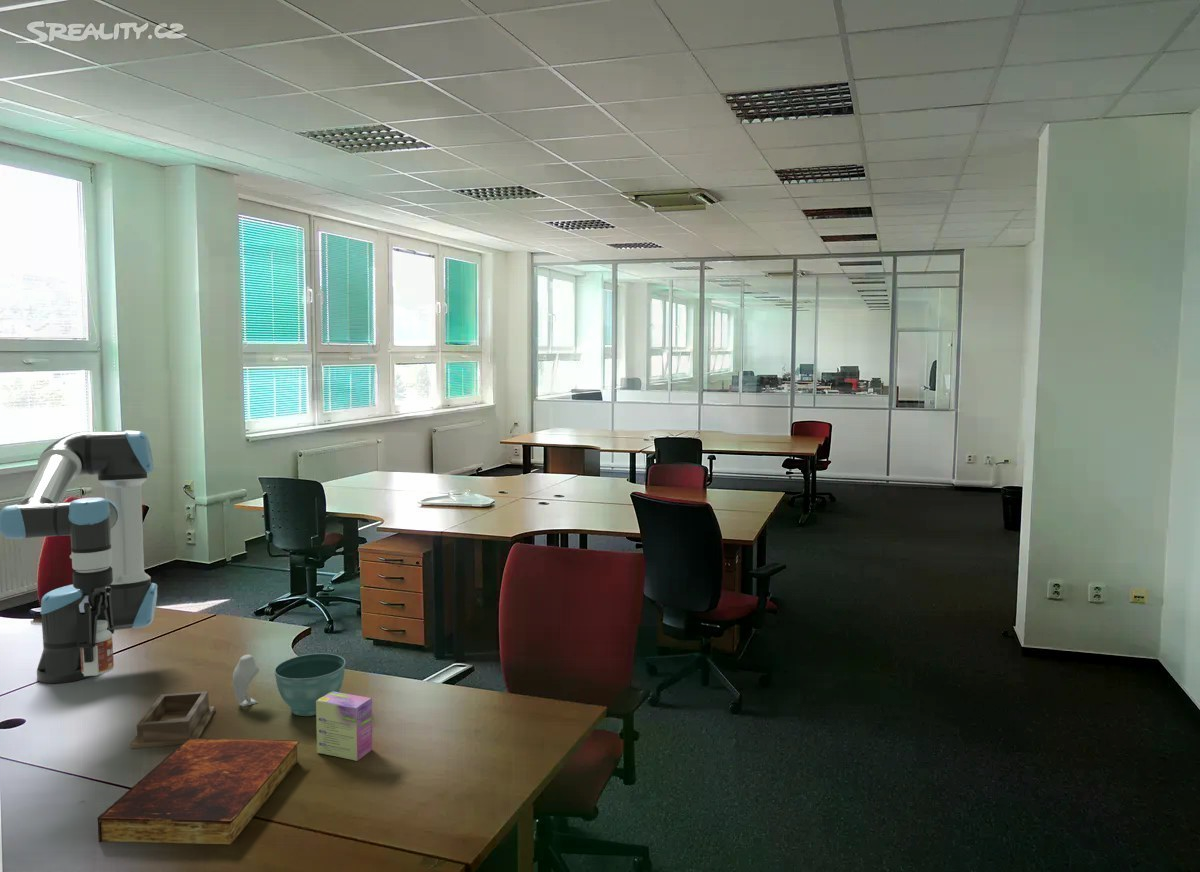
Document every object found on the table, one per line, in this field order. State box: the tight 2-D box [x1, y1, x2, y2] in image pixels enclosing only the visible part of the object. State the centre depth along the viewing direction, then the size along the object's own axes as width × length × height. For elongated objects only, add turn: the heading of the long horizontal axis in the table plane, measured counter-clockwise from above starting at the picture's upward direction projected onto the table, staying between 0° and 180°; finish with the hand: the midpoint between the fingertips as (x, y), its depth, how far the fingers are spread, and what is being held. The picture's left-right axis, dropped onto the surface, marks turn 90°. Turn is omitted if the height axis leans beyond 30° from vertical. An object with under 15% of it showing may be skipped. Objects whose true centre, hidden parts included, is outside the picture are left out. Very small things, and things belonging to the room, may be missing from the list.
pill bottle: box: [80, 620, 115, 676], centre depth 180 cm, size 6×6×11 cm
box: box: [315, 691, 373, 762], centre depth 173 cm, size 10×6×12 cm, turn 71°
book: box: [97, 737, 300, 845], centre depth 155 cm, size 30×24×5 cm
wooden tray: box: [130, 690, 216, 749], centre depth 184 cm, size 17×13×5 cm
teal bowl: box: [273, 652, 346, 717], centre depth 194 cm, size 16×16×11 cm
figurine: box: [232, 654, 260, 708], centre depth 197 cm, size 8×5×12 cm
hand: (97, 669), depth 180 cm, fingers closed on pill bottle, 6 cm apart
